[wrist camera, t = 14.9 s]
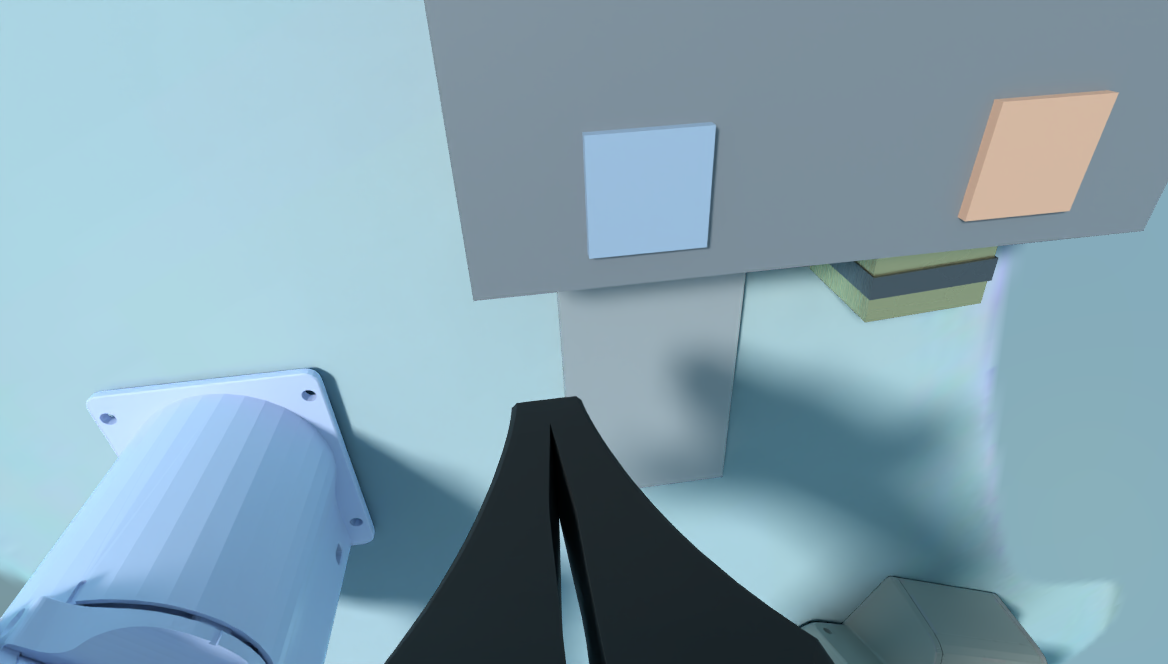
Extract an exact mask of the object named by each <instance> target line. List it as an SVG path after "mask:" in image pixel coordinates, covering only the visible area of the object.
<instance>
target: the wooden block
mask: <svg viewBox="0 0 1168 664" xmlns="http://www.w3.org/2000/svg"><path fill="white" fill-rule="evenodd" d="M997 247H998V246H994V247H985V248H975V249H965V250H956V251H946V252H937V253H927V254H918V255H908V256H898V257H889V258H879V259H870V260H860V261H851V262H841V263H831V264H822V265H812V266H810V269H811V270H812V271H813V272H814V273H815V274H816V275H817V276H818V277H819V278H820V279H821V280H822V281H823V282H824V283H825V284H826V285H827V286H828V287H829V288H830V289H831V290H832V291H833V292H834V293H835V294H836V295H838V296H839V297H840V298H841V299H842V300H843V301H844V302H845V303H846V304H847V305H848V306H849V307H850V308H851V309H852V310H853V311H854V312H855V313H856V314H857V315H858V316H859V317H860V318H861V319H862V320H863V321H864V322H870V321H876V320H882V319H888V318H894V317H900V316H906V315H912V314H918V313H924V312H930V311H936V310H942V309H948V308H954V307H960V306H966V305H972V304H978V303H981V300H982V297H983V293H984V290H985V287H986V283H987V281H991V280H992V277H993V274H994V270H995V267H996V264H997V260H998V258H997V257H996V256H995V253H996V250H997Z"/></svg>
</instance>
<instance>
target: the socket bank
mask: <svg viewBox="0 0 1168 664" xmlns="http://www.w3.org/2000/svg"><path fill="white" fill-rule="evenodd" d="M424 3H425V10H426V16H427V22H428V28H429V34H430V40H431V46H432V52H433V58H434V64H435V70H436V76H437V82H438V88H439V94H440V100H441V106H442V112H443V119H444V125H445V131H446V137H447V143H448V149H449V155H450V161H451V167H452V173H453V179H454V185H455V191H456V197H457V203H458V209H459V215H460V221H461V227H462V234H463V240H464V246H465V252H466V258H467V264H468V270H469V276H470V282H471V288H472V294H473V300H474V301H477V300H487V299H496V298H506V297H515V296H525V295H535V294H544V293H554V292H563V291H573V290H583V289H592V288H602V287H611V286H621V285H630V284H640V283H650V282H659V281H669V280H678V279H688V278H697V277H707V276H717V275H726V274H736V273H745V272H755V271H764V270H774V269H784V268H793V267H803V266H812V265H822V264H831V263H841V262H851V261H860V260H870V259H879V258H889V257H898V256H908V255H918V254H927V253H937V252H946V251H956V250H965V249H975V248H985V247H994V246H1004V245H1013V244H1023V243H1032V242H1042V241H1051V240H1060V239H1071V238H1080V237H1090V236H1099V235H1109V234H1119V233H1128V232H1137V231H1143V230H1144V228H1145V226H1146V224H1147V222H1148V220H1149V218H1150V216H1151V214H1152V212H1153V210H1154V208H1155V206H1156V204H1157V202H1158V200H1159V198H1160V196H1161V194H1162V192H1163V190H1164V188H1165V186H1166V184H1167V182H1168V0H424Z"/></svg>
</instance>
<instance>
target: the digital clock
mask: <svg viewBox="0 0 1168 664" xmlns="http://www.w3.org/2000/svg"><path fill="white" fill-rule="evenodd" d="M801 628H802V629H803V630H805V631H806V632H808V633H809V634H811V635H812V636H814V637H816V638H817V639H818V640H819V642H820V643H821V644H822V646H823V647H824V649H825V650H826V652H827V653H828V655H829V656H830V657H831V659H832V660H833V662H834V663H835V664H1048V663H1047V661H1046V658H1045V656H1044V655H1043V653H1042V652H1041V650H1040V649H1039V647H1038V646H1037V644H1036V643H1035V642H1034V641H1033V639H1032V638H1031V637H1030V636H1029V634H1028V633H1027V632H1026V631H1025V629H1024V628H1023V627H1022V626H1021V624H1020V623H1019V622H1018V621H1017V619H1016V618H1015V617H1014V616H1013V614H1012V613H1011V612H1010V611H1009V609H1008V608H1007V607H1006V606H1005V604H1004V603H1003V602H1002V601H1001V599H1000V598H999V597H998V596H997V595H996V594H994V593H989V592H983V591H977V590H971V589H965V588H959V587H953V586H947V585H940V584H934V583H928V582H922V581H916V580H910V579H904V578H898V577H892V576H890V577H887V578H886V579H885V580H884V581H883V582H882V583H881V584H880V585H879V586H878V587H877V588H876V589H875V590H874V591H873V592H872V593H871V594H870V595H869V596H868V597H867V598H866V599H865V600H864V602H863V603H862V604H861V605H860V606H859V607H858V608H857V609H856V610H855V611H854V612H853V613H852V614H851V615H850V616H849V617H848V618H847V619H846V620H845V621H844V622H843V623H842V624H832V623H822V622H814V623H810V624H807V625H805V626H803V627H801Z"/></svg>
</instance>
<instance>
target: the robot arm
mask: <svg viewBox="0 0 1168 664" xmlns="http://www.w3.org/2000/svg"><path fill="white" fill-rule="evenodd" d="M306 390H311V391H313V392H315V393H316V394H315V395H310V394H308V393H306V392H305V391H306ZM86 407H87V409H88V411H89V413H90V414H91V416H92V417H93V419H94V420H95V422H96V424H97V425H98V427H99V428H100V430H101V431H102V433H103V434H104V436H105V438H106V439H107V441H108V442H109V444H110V445H111V447H112V449H113V450H114V452H115V453H116V455H117V456H118V459H117V460H116V461H115V463H114V464H113V466H112V467H111V468H110V470H109V471H108V472H107V474H106V475H105V476H104V478H103V479H102V481H101V482H100V483H99V485H98V486H97V487H96V489H95V490H94V491H93V493H92V494H91V496H90V497H89V498H88V500H87V501H86V502H85V504H84V505H83V506H82V508H81V509H80V511H79V512H78V513H77V515H76V516H75V517H74V519H73V520H72V522H71V523H70V524H69V526H68V527H67V528H66V530H65V531H64V532H63V534H62V535H61V537H60V538H59V539H58V541H57V542H56V543H55V545H54V546H53V547H52V549H51V550H50V552H49V553H48V554H47V556H46V557H45V558H44V560H43V561H42V562H41V564H40V565H39V567H38V568H37V569H36V571H35V572H34V573H33V575H32V576H31V577H30V579H29V580H28V582H27V583H26V584H25V586H24V587H23V588H22V590H21V591H20V593H19V594H18V595H17V597H16V598H15V599H14V601H13V602H12V603H11V605H10V606H9V608H8V609H7V610H6V612H5V613H4V614H3V616H2V617H1V618H0V664H324V661H325V657H326V653H327V648H328V644H329V640H330V635H331V631H332V626H333V622H334V618H335V613H336V609H337V605H338V600H339V596H340V592H341V587H342V583H343V579H344V574H345V570H346V565H347V561H348V557H349V552H350V548H351V546H353V545H360V544H366V543H369V542H371V541H372V540H373V538H374V534H375V529H374V526H373V523H372V520H371V517H370V514H369V512H368V509H367V506H366V503H365V500H364V497H363V495H362V492H361V489H360V486H359V483H358V480H357V477H356V475H355V472H354V469H353V466H352V463H351V460H350V458H349V455H348V452H347V449H346V446H345V443H344V441H343V438H342V435H341V432H340V429H339V426H338V424H337V421H336V418H335V415H334V412H333V409H332V406H331V404H330V401H329V398H328V395H327V392H326V389H325V387H324V384H323V381H322V378H321V376H320V375H319V374H318V373H317V372H316V371H314V370H311V369H295V370H286V371H277V372H268V373H259V374H250V375H241V376H232V377H223V378H214V379H205V380H196V381H187V382H178V383H170V384H161V385H152V386H143V387H134V388H125V389H116V390H107V391H99V392H96V393H94V394H93V395H92V396H91V397H90V398H89V399H88V400H87V402H86ZM108 414H111V415H113V416H114V417H111V416H109V415H108ZM355 518H359V519H355ZM559 518H560V523H561V527H562V532H563V536H564V541H565V545H566V549H567V554H568V558H569V563H570V567H571V571H572V576H573V580H574V585H575V589H576V593H577V598H578V602H579V607H580V611H581V615H582V620H583V626H584V631H585V637H586V643H587V650H588V658H589V664H835V663H834V662H833V660H832V659H831V657H830V656H829V655H828V653H827V652H826V650H825V649H824V647H823V646H822V644H821V643H820V642H819V640H818V639H817V638H816V637H814V636H812V635H811V634H809V633H808V632H806V631H805V630H803V629H802V628H800V627H799V626H797V625H796V624H794V623H793V622H791V621H790V620H788V619H787V618H785V617H784V616H782V615H781V614H779V613H778V612H777V611H775V610H774V609H772V608H771V607H769V606H768V605H767V604H765V603H764V602H763V601H761V600H760V599H759V598H757V597H756V596H755V595H753V594H752V593H751V592H749V591H748V590H747V589H745V588H744V587H743V586H741V585H740V584H739V583H737V582H736V581H735V580H734V579H733V578H731V577H730V576H729V575H728V574H727V573H725V572H724V571H723V570H722V569H721V568H719V567H718V566H717V565H716V564H715V563H714V562H712V561H711V560H710V559H709V558H708V557H706V556H705V555H704V554H703V553H702V552H700V551H699V550H698V549H697V548H696V547H695V546H694V545H693V544H692V543H691V542H690V541H689V540H688V539H687V538H685V537H684V536H683V535H682V534H681V533H680V532H679V531H678V530H677V529H676V528H675V527H674V526H673V525H672V524H671V523H670V522H669V521H668V520H667V519H666V518H665V517H664V516H663V515H662V513H661V512H660V511H659V510H658V509H657V508H656V507H655V506H654V505H653V504H652V502H651V501H650V500H649V499H648V498H647V497H646V496H645V494H644V493H643V492H642V491H641V490H640V488H639V487H638V486H637V485H636V484H635V482H634V481H633V480H632V479H631V477H630V476H629V475H628V474H627V472H626V471H625V470H624V468H623V467H622V466H621V464H620V463H619V461H618V460H617V459H616V457H615V456H614V455H613V453H612V452H611V450H610V449H609V448H608V446H607V445H606V443H605V442H604V440H603V439H602V437H601V435H600V434H599V432H598V430H597V429H596V427H595V426H594V424H593V422H592V420H591V419H590V417H589V415H588V413H587V411H586V409H585V407H584V404H583V402H582V400H581V399H580V398H578V397H577V396H572V397H564V398H556V399H547V400H539V401H531V402H522V403H517V404H516V405H515V406H514V407H513V408H512V413H511V420H510V426H509V430H508V434H507V438H506V442H505V445H504V449H503V452H502V455H501V458H500V461H499V463H498V466H497V469H496V472H495V475H494V478H493V480H492V483H491V485H490V488H489V490H488V492H487V495H486V497H485V499H484V502H483V504H482V506H481V509H480V511H479V513H478V516H477V518H476V520H475V522H474V524H473V526H472V528H471V530H470V532H469V534H468V536H467V538H466V540H465V542H464V544H463V545H462V547H461V549H460V551H459V553H458V555H457V556H456V558H455V560H454V562H453V563H452V565H451V567H450V568H449V570H448V572H447V573H446V575H445V577H444V578H443V580H442V582H441V583H440V585H439V587H438V588H437V590H436V592H435V593H434V595H433V596H432V598H431V599H430V601H429V602H428V604H427V605H426V607H425V608H424V610H423V611H422V613H421V614H420V615H419V617H418V618H417V620H416V621H415V622H414V624H413V625H412V627H411V628H410V629H409V631H408V632H407V634H406V635H405V636H404V638H403V639H402V641H401V642H400V643H399V645H398V646H397V647H396V649H395V650H394V652H393V653H392V654H391V655H390V657H389V658H388V659H387V661H386V662H385V663H384V664H566V660H565V651H564V642H563V631H562V611H561V571H560V531H559Z"/></svg>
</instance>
